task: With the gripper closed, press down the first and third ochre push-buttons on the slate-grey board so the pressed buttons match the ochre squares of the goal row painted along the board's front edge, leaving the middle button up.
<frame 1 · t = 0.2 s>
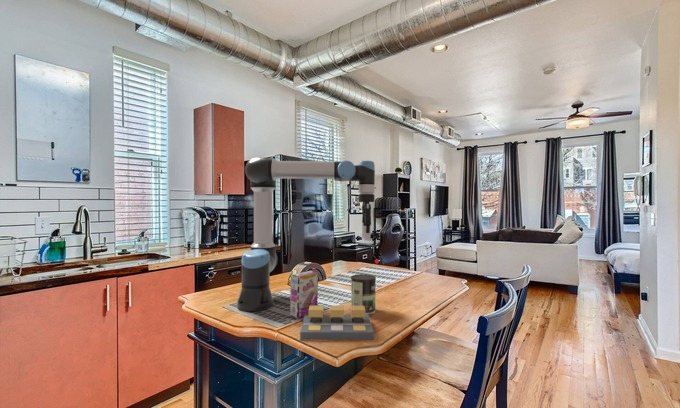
hand: (366, 238, 150), 28 cm above the table, fingers open, 13 cm apart
coffee can: (363, 311, 131), on the table
button 2: (336, 314, 114), point 5 cm above the table, slide at 0.0 cm
button 1: (316, 314, 114), point 5 cm above the table, slide at 0.0 cm
button 3: (357, 314, 114), point 5 cm above the table, slide at 0.0 cm
candy bar box: (304, 314, 127), on the table
board: (336, 330, 111), on the table
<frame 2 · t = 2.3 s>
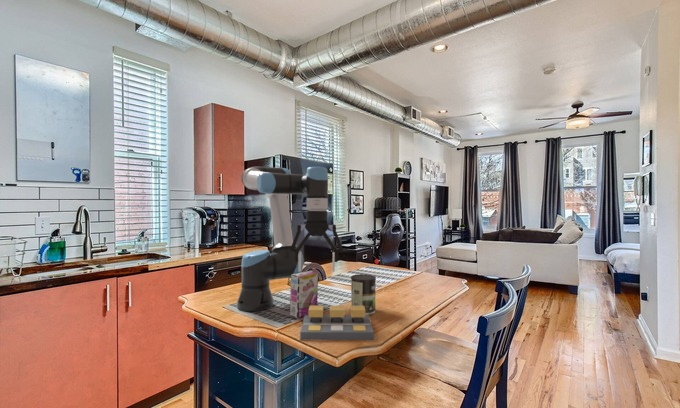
hand: (316, 271, 114), 20 cm above the table, fingers open, 11 cm apart
nothing on the table moved.
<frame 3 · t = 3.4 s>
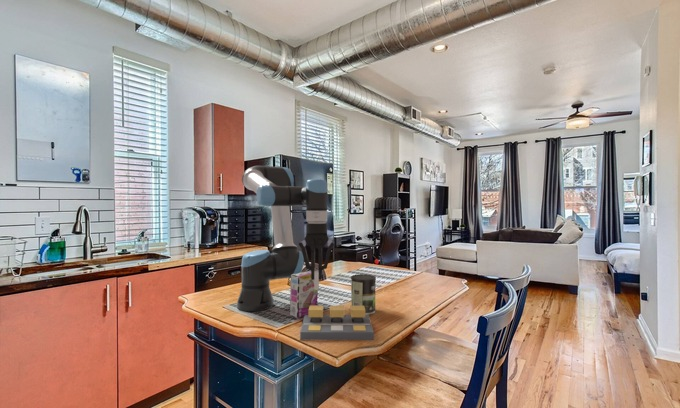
hand: (316, 288, 113), 14 cm above the table, fingers closed
nothing on the table moved.
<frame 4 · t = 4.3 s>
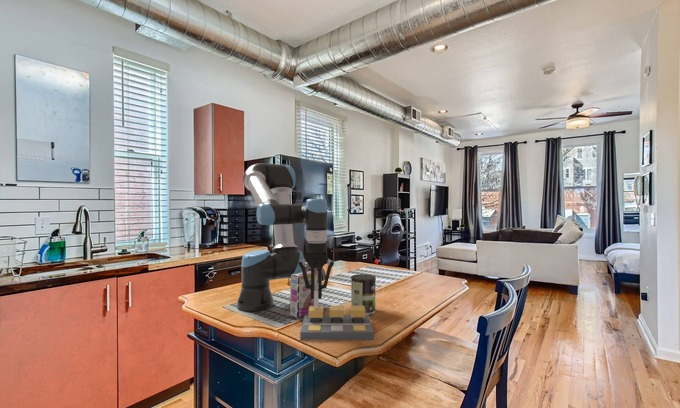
hand: (316, 307, 113), 7 cm above the table, fingers closed
button 1: (316, 314, 114), point 4 cm above the table, slide at 0.2 cm, touching gripper
everything else where it was.
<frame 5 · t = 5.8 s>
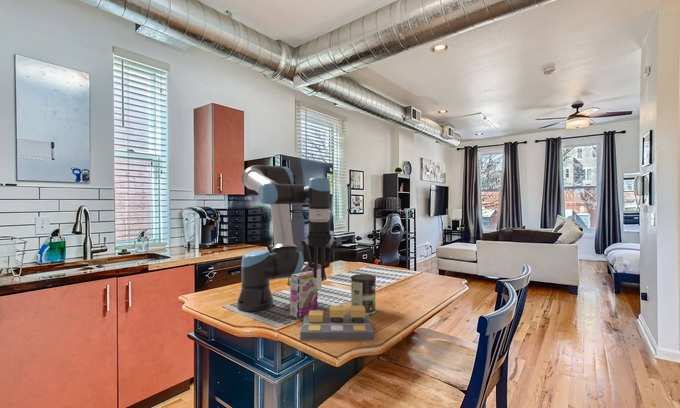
hand: (319, 286, 113), 15 cm above the table, fingers closed
button 1: (316, 319, 114), point 3 cm above the table, slide at 1.8 cm
everything else where it was.
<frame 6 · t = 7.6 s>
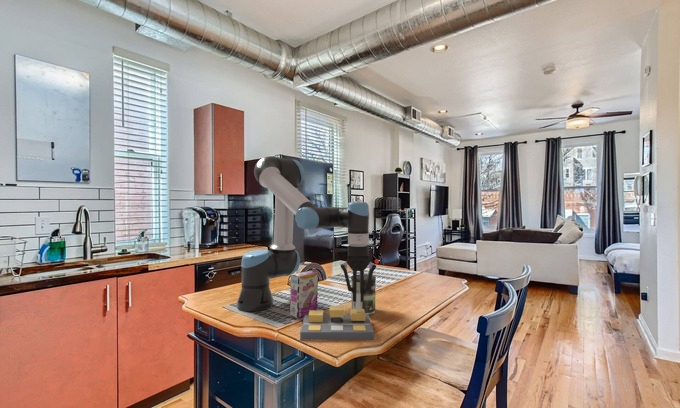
hand: (358, 310, 114), 6 cm above the table, fingers closed
button 3: (357, 317, 114), point 3 cm above the table, slide at 1.2 cm, touching gripper
everything else where it was.
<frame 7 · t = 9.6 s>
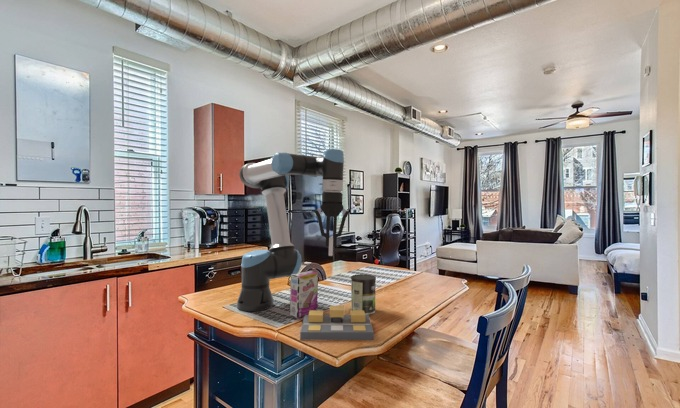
hand: (330, 255, 118), 25 cm above the table, fingers closed
button 3: (357, 319, 114), point 3 cm above the table, slide at 1.8 cm
everything else where it was.
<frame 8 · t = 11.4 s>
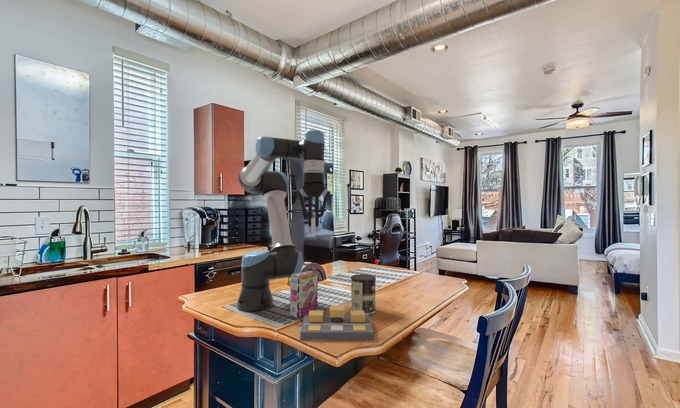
hand: (313, 235, 119), 32 cm above the table, fingers closed
nothing on the table moved.
at the end: button 1 slide at 1.8 cm; button 3 slide at 1.8 cm; button 2 slide at 0.0 cm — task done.
